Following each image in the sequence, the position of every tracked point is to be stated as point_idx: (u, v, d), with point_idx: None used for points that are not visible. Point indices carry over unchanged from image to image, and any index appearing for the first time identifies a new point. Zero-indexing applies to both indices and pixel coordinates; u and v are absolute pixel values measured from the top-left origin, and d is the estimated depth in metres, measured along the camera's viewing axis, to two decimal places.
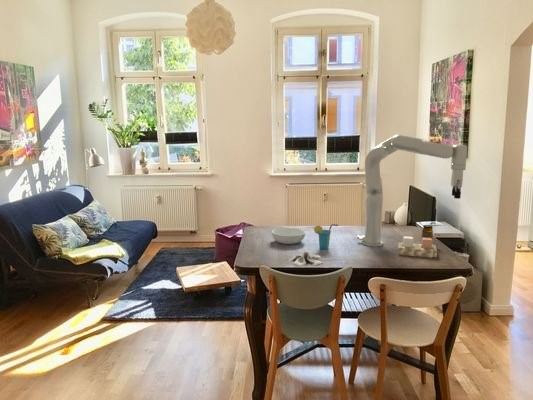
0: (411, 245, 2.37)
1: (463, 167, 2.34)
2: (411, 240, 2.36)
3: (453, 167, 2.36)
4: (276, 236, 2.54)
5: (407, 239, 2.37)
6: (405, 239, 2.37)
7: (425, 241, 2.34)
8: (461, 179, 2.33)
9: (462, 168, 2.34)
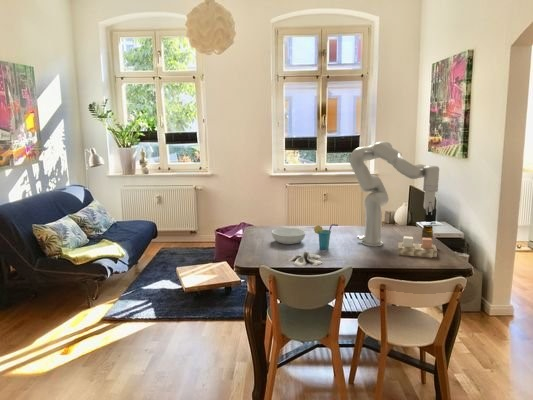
0: (411, 245, 2.37)
1: (435, 189, 2.28)
2: (411, 240, 2.36)
3: (425, 188, 2.30)
4: (276, 236, 2.54)
5: (407, 239, 2.37)
6: (405, 239, 2.37)
7: (425, 241, 2.34)
8: (433, 201, 2.27)
9: (434, 190, 2.28)
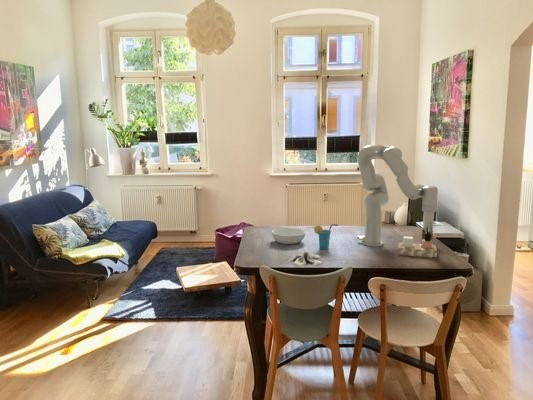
0: (411, 245, 2.37)
1: (434, 209, 2.30)
2: (411, 240, 2.36)
3: (424, 209, 2.32)
4: (276, 236, 2.54)
5: (407, 239, 2.37)
6: (405, 239, 2.37)
7: (425, 243, 2.34)
8: (432, 221, 2.29)
9: (433, 210, 2.30)
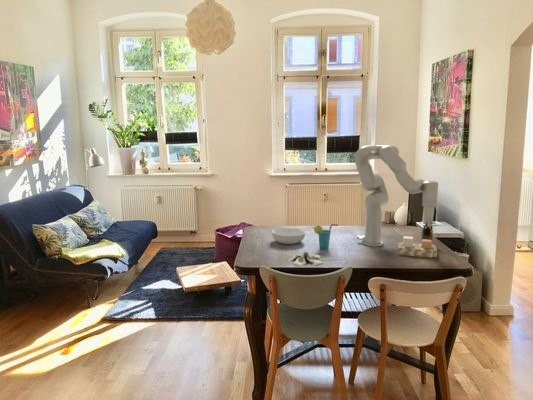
0: (411, 245, 2.37)
1: (434, 204, 2.29)
2: (411, 240, 2.36)
3: (424, 204, 2.31)
4: (276, 236, 2.54)
5: (407, 239, 2.37)
6: (405, 239, 2.37)
7: (425, 243, 2.34)
8: (432, 216, 2.29)
9: (433, 205, 2.29)
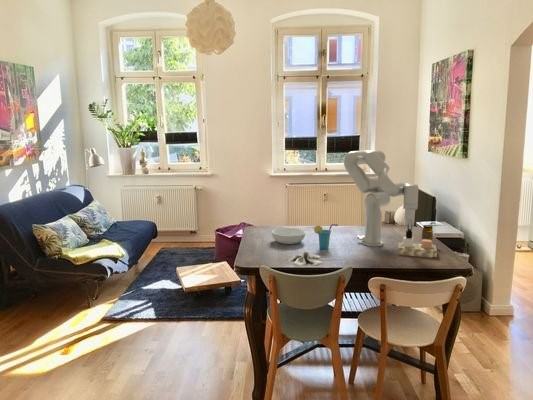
0: (411, 245, 2.37)
1: (414, 207, 2.32)
2: (411, 240, 2.36)
3: (405, 206, 2.34)
4: (276, 236, 2.54)
5: (407, 239, 2.37)
6: (405, 239, 2.37)
7: (425, 243, 2.34)
8: (412, 219, 2.32)
9: (413, 208, 2.32)
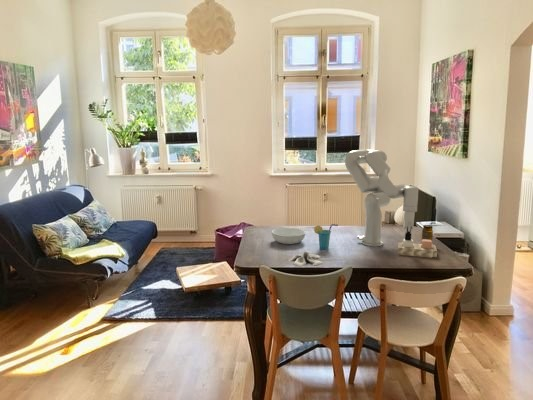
0: None
1: (414, 209, 2.33)
2: (411, 242, 2.37)
3: (404, 208, 2.35)
4: (276, 236, 2.54)
5: (407, 241, 2.37)
6: (405, 241, 2.38)
7: (425, 243, 2.34)
8: (412, 221, 2.32)
9: (413, 210, 2.33)
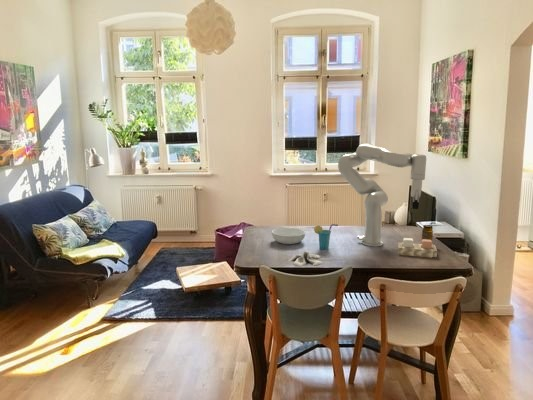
0: None
1: (422, 177, 2.33)
2: (411, 242, 2.37)
3: (412, 177, 2.35)
4: (276, 236, 2.54)
5: (407, 241, 2.37)
6: (405, 241, 2.37)
7: (425, 243, 2.34)
8: (419, 189, 2.32)
9: (421, 178, 2.33)
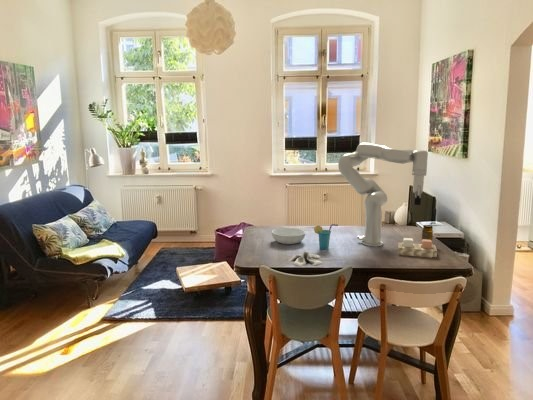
0: None
1: (423, 173, 2.33)
2: (411, 242, 2.37)
3: (414, 173, 2.35)
4: (276, 236, 2.54)
5: (407, 241, 2.37)
6: (405, 241, 2.37)
7: (425, 243, 2.34)
8: (421, 185, 2.32)
9: (422, 174, 2.33)
